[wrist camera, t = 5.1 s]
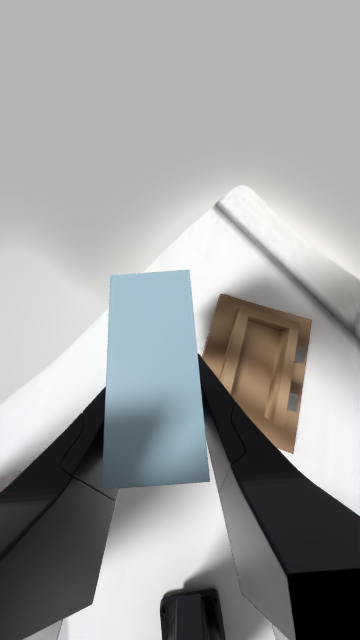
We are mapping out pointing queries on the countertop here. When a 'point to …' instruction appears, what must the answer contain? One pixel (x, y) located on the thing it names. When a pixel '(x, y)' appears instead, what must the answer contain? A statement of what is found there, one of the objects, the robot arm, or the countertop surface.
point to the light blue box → (153, 384)
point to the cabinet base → (260, 363)
